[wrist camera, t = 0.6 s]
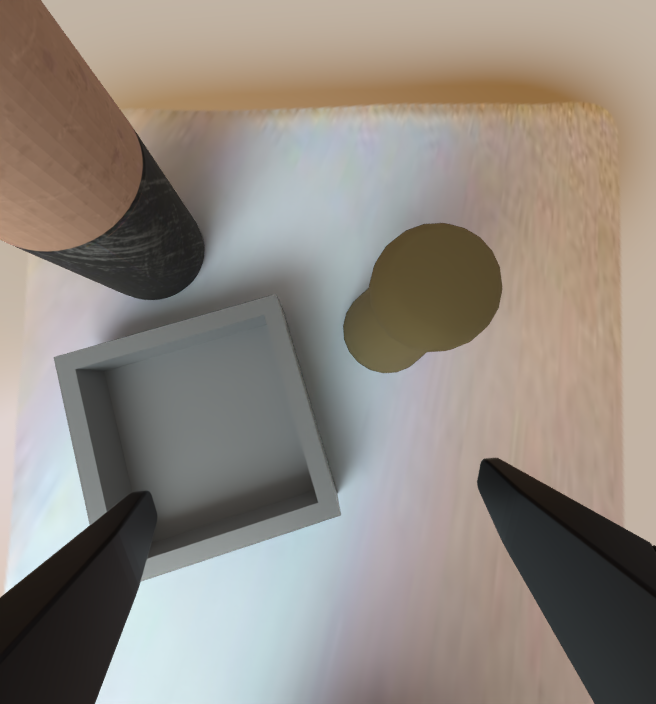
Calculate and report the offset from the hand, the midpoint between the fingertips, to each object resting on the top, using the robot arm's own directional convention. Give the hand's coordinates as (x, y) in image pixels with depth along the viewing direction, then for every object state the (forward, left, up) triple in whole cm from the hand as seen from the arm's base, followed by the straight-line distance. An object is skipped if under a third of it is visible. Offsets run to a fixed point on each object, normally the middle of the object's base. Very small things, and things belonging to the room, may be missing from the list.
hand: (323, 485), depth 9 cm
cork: (+5, -6, -13) cm, 15 cm away
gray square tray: (+2, +7, -13) cm, 15 cm away
